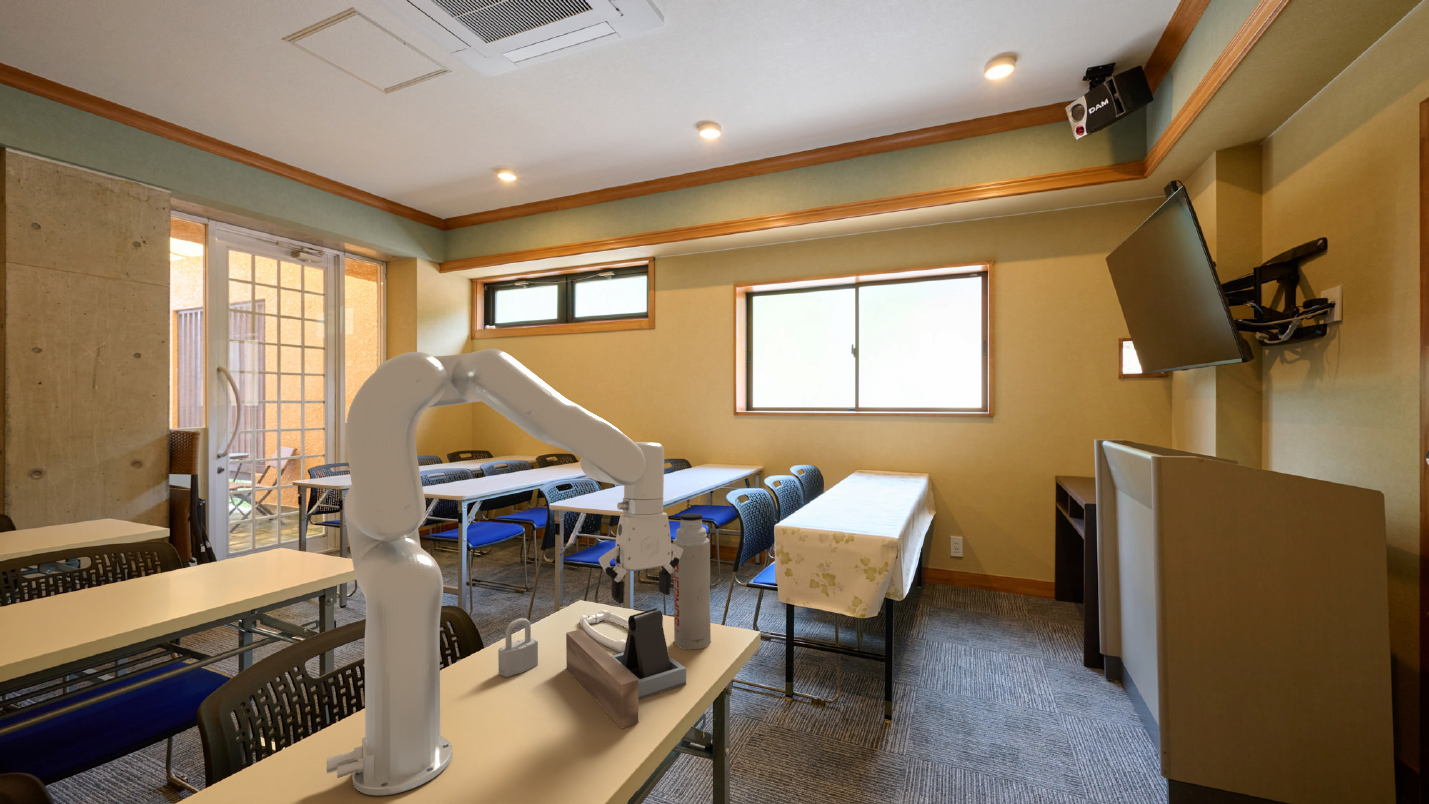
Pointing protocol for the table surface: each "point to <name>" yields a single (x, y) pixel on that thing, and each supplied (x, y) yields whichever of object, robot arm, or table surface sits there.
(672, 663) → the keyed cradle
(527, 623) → the padlock
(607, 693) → the board
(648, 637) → the door stopper
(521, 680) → the table surface
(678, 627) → the thermos bottle
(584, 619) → the door handle
